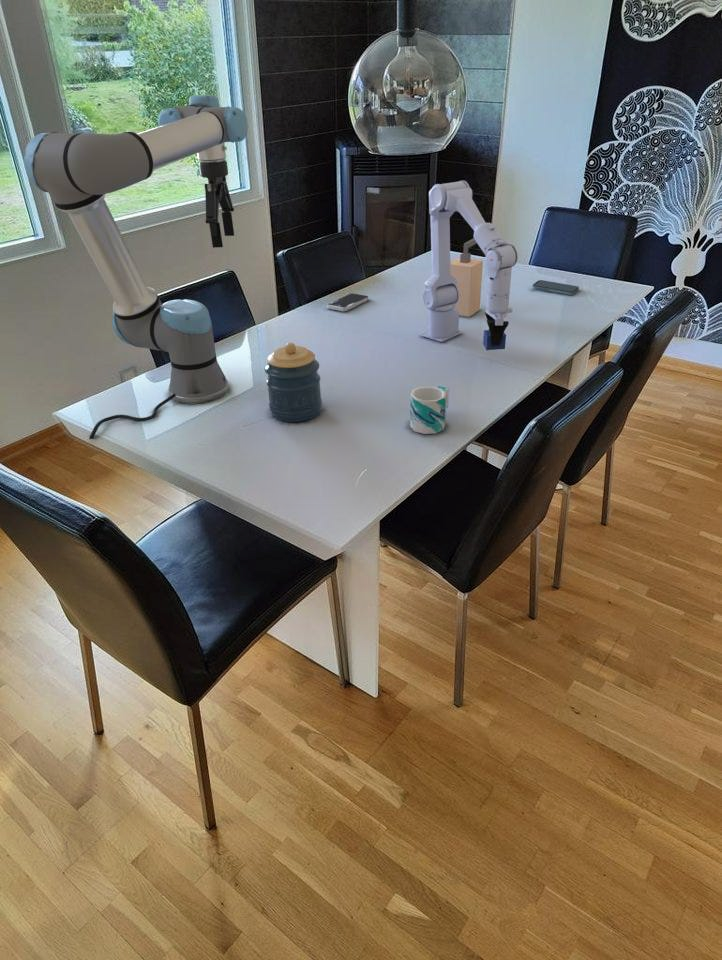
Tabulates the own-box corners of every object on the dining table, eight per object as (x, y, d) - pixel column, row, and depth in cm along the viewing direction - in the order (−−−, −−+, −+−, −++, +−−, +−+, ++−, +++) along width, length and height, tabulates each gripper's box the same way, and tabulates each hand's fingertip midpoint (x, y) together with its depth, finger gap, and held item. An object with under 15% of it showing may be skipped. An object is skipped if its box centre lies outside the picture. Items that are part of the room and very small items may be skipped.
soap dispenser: (469, 317, 218) (472, 247, 206) (445, 313, 222) (447, 244, 210) (485, 305, 227) (489, 238, 215) (462, 302, 231) (465, 236, 219)
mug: (404, 428, 156) (404, 396, 152) (428, 408, 165) (428, 376, 160) (435, 436, 153) (436, 403, 148) (458, 415, 161) (460, 383, 156)
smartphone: (369, 296, 236) (344, 308, 226) (369, 300, 237) (344, 312, 227) (351, 293, 240) (326, 304, 230) (351, 296, 241) (326, 308, 230)
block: (505, 349, 183) (506, 335, 181) (486, 350, 183) (487, 336, 181) (501, 343, 187) (502, 329, 185) (482, 344, 187) (483, 330, 185)
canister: (275, 426, 159) (266, 357, 150) (266, 403, 170) (257, 337, 160) (328, 418, 162) (323, 349, 153) (316, 396, 173) (310, 330, 163)
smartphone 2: (573, 292, 232) (531, 284, 239) (572, 296, 233) (531, 289, 240) (579, 286, 237) (539, 279, 244) (579, 290, 238) (538, 283, 245)
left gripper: (214, 167, 171) (226, 252, 183) (236, 153, 192) (246, 230, 203) (185, 167, 172) (199, 252, 183) (211, 154, 193) (221, 231, 204)
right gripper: (517, 301, 171) (512, 351, 178) (510, 284, 183) (506, 332, 190) (489, 301, 171) (485, 351, 179) (484, 284, 183) (481, 332, 191)
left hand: (223, 241), depth 193 cm, fingers open, 13 cm apart
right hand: (494, 341), depth 184 cm, fingers closed on block, 5 cm apart
